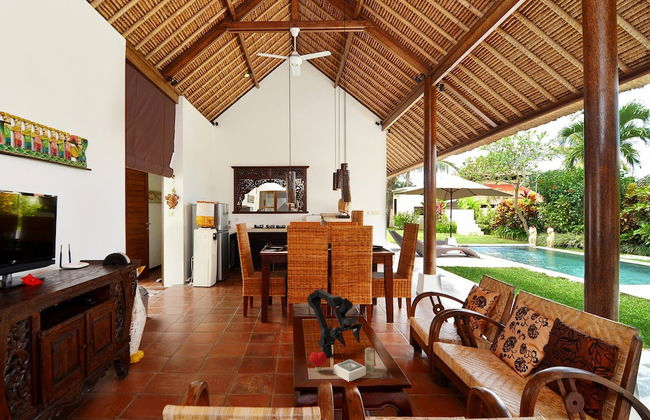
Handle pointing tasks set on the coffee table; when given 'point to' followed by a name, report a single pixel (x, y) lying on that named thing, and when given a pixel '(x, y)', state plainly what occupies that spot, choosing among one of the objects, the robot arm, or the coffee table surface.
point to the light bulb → (318, 359)
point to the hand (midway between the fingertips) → (352, 344)
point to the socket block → (349, 370)
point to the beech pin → (369, 359)
